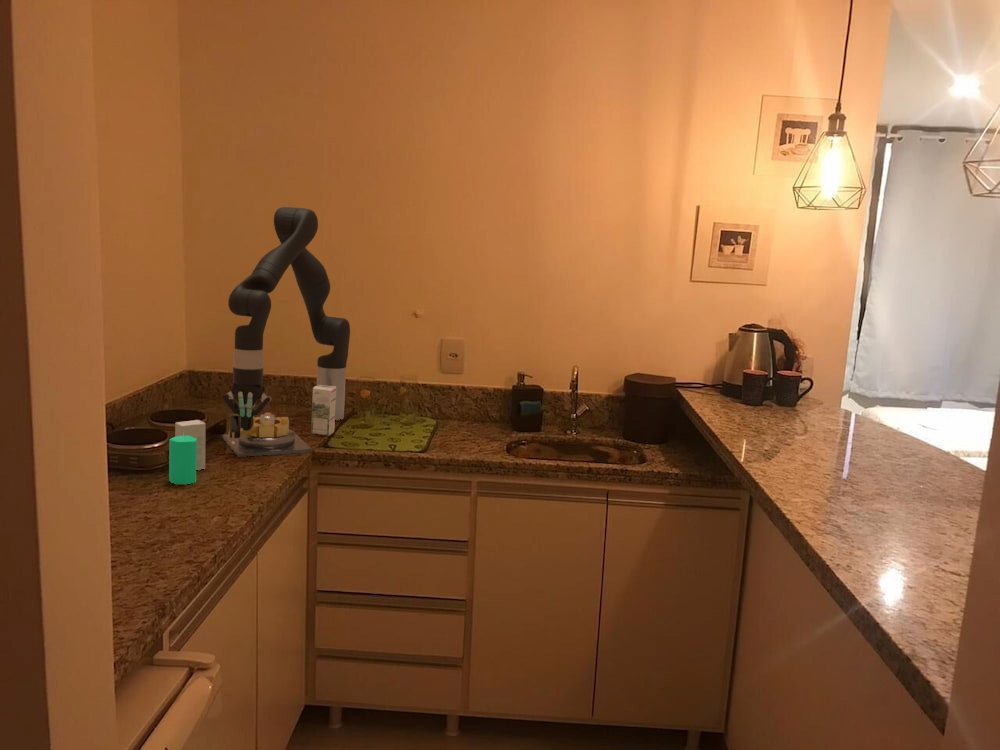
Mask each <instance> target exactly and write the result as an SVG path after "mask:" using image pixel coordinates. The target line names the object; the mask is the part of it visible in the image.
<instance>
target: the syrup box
mask: <svg viewBox="0 0 1000 750" xmlns="http://www.w3.org/2000/svg"><path fill="white" fill-rule="evenodd" d="M335 403H336V386H326V385H317V384H316V385H314V386H313V387H312V401H311V424H310V425H311V426H310V427H311V430H310V434H311V435H316V434H318V435H319V436H325V435H326V437H328V436H331V435H332V434H333V433H335V427H336V426H335V423H336V422H335Z"/></svg>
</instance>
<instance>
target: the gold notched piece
mask: <svg viewBox="0 0 1000 750" xmlns="http://www.w3.org/2000/svg"><path fill="white" fill-rule="evenodd" d="M264 414H272V412H265V413H264ZM228 426H229V427H228V428H229V429H228V437H230V438H240V437H242V436H247V435H251V436H254V437H268V438H274V437H280V436H284V435H287V434H289V429H290V428H289V427H290V420H289V417H288V416H281V417H279V416H277V417H276V416H275V424H274V425H270V421H264V425H261V424H260V416H256V417H255V416H253V427H252V428H251V429H250V430H249V431H245V430H243V428H241V416H240V415H238V414H234V413H231V414H229V425H228Z"/></svg>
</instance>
